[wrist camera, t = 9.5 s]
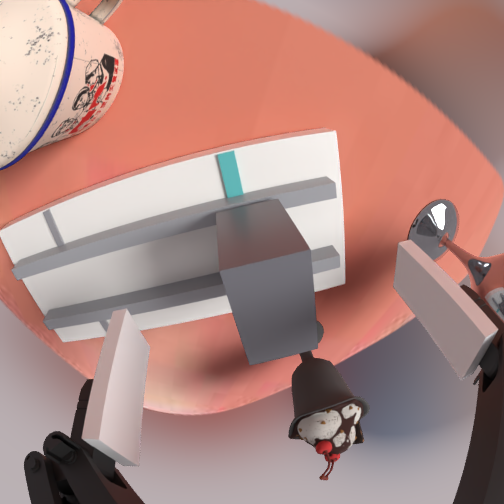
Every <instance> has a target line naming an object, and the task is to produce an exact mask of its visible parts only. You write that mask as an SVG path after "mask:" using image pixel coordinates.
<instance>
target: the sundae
mask: <svg viewBox="0 0 504 504" xmlns="http://www.w3.org/2000/svg"><path fill="white" fill-rule="evenodd" d="M316 322H317V339H318V343H319V342H320V341H321V339H322V337H323V333H324V330H323V326H322V325H321V324H320V323H319V322H318V321H316ZM299 354H300V356H301V359H302V363H301V364H300V365H299V366H298V367H297V368H296V370H295V371H294V373H293V375H292V395H293V404H294V414H295V419H294V420H293V421H292V423H291V426H290V429H289V438H290V439H301V440H304V441H305V442H307V443H309V444H311V445H312V446H313V447H314V448H315V449H316V452H317V453H318V454H324V456H325V459H326V461H328V468H327V469H326V471H325V472H324V473H323V474H322V476H320V479H321V480H328V475H329V474H330V472H331V471H332V469H333V465H334V462H335V461H337V460H338V459H339V458H340V454H341V453H342V452H344V451H346V450H347V449H348V448H349V447H351V445H352V444H359V443H363V442H364V438H363V433H362V430H361V426H360V422H359V421H360V419H361V418H363V417H364V416H365V415H366V414H367V413H368V412H369V409H370V408H369V405H368V403H367V402H366V401H365V400H364V399H363V398H361V397H355V396H354V395H353V394H352V392H351V391H350V389H349V388H348V386H347V384H346V383H345V381H344V379H343V378H342V376H341V374H340V373H339V372H338V371H337V369H336V368H335V367H334V365H333V364H332V363H331V362H330V361H327V360H324V359H320V358H314V357H313V355H312V352H311V350H310V351H307V352H303V353H299ZM330 462H332V466H331V469H330V471H329V473H328V474H327V475H326V476H324V475H325V473H326V472H327V471H328V469H329V467H330Z"/></svg>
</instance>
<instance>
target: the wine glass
mask: <svg viewBox="0 0 504 504" xmlns="http://www.w3.org/2000/svg"><path fill="white" fill-rule="evenodd" d="M458 228H459V214H458V211H457V209H456V207H455V205H454V204H453V203H452V202H450V201H449V200H446V199H439V200H436V201H433V202H431V203H430V204H428V205H427V206H426V207H425V208H423V209H422V211H421V212H420V213H419V214H418V216H417V217H416V219H415V220H414V222H413V224H412V226H411V229H410V232H409V236H408V240H412V241H413V242H414V243H415V244H416V245H417V246H418V247H419V248H420V249H421V250H423V251H424V252H425V253H426V254H427V255H428V256H429V257H430V258H431V259H432V260H433V261H434V262H436V261H438V260H439V259H440V258H442V257H443V256H444V255H445V254H446V253H447V252H448V250H450V251H451V252H452V253H453V254H454V255H455V256H456V257H457V258H458V259H459V260H460V261H461V262H462V264H463V265H464V266H465V268H466V269H467V271H468V274H469V277H470V282H471V289H473V290H474V291H475V292H476V293H477V294H478V295H479V296H480V298H481V299H483V300H484V302H485V303H486V305H488V306H489V307H490V308H491V309H492V310H493V311H494V312H495V314H496V315H497V316H498V317H499V318H500V319H501V320H502V321H503V323H504V253H502V254H499V255H495V256H491V257H477V256H474V255H472V254H470V253H468V252H466V251H465V250H463V249H461V248H460V247H458V246H457V245H456V244H454V241H455V238H456V236H457V233H458Z"/></svg>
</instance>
